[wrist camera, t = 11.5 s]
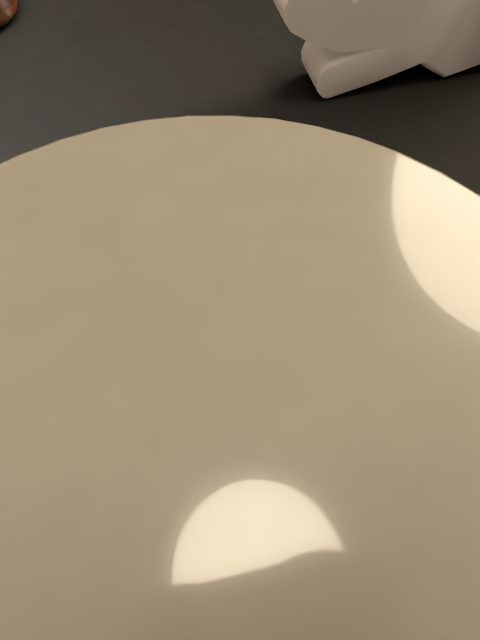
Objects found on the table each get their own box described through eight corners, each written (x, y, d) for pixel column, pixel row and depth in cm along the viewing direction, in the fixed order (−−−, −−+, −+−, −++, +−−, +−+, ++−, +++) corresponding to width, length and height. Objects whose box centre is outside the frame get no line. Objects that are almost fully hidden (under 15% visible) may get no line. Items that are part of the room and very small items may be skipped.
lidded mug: (367, 654, 13) (1224, 1420, 2) (112, 673, 13) (-914, 1663, 1) (318, 348, 17) (454, -13, 6) (130, 360, 17) (-88, 12, 6)
